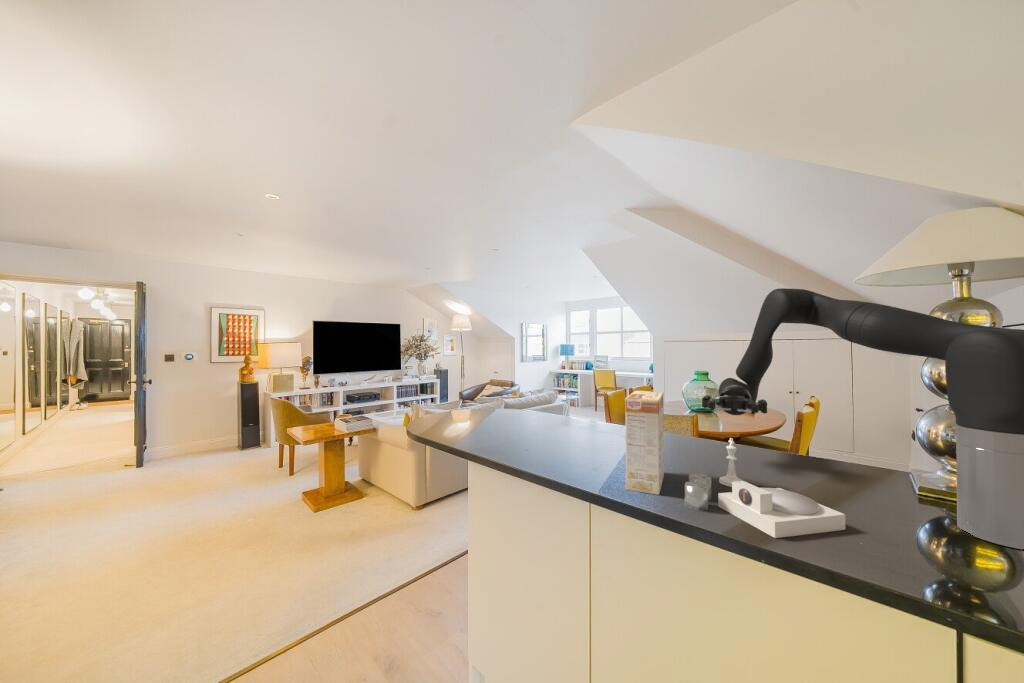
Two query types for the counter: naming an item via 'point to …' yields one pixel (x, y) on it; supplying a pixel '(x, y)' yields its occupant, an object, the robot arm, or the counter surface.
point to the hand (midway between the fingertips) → (732, 408)
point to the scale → (779, 511)
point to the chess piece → (730, 466)
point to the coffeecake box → (644, 441)
